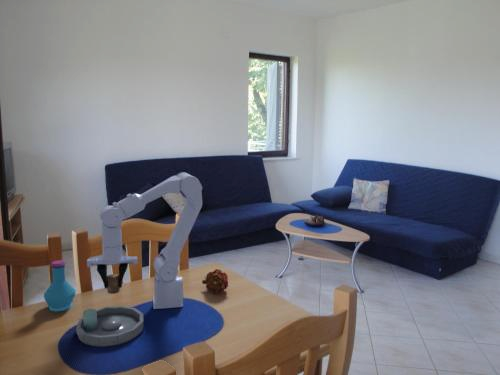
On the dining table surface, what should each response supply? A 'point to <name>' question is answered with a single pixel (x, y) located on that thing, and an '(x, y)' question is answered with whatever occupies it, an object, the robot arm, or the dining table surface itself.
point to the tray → (112, 326)
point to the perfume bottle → (59, 289)
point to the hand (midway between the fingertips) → (113, 286)
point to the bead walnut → (113, 283)
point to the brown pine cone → (216, 281)
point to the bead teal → (90, 319)
